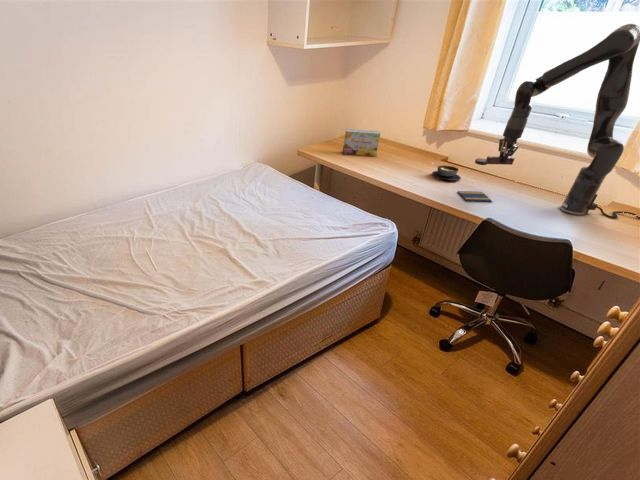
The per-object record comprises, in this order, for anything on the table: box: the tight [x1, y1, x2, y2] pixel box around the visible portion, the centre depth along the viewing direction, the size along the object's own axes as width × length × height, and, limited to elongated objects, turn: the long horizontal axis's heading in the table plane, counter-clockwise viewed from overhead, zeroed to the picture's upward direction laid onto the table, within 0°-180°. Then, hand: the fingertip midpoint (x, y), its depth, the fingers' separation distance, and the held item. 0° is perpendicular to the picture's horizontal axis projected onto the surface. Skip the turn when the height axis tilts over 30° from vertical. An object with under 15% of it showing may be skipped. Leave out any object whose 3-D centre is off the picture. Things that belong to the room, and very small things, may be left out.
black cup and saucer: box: [431, 162, 462, 181], centre depth 211 cm, size 15×16×7 cm
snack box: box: [342, 128, 381, 158], centre depth 243 cm, size 21×6×15 cm, turn 75°
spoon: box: [474, 155, 516, 166], centre depth 188 cm, size 17×6×3 cm, turn 85°
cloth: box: [456, 190, 493, 203], centre depth 190 cm, size 12×11×1 cm
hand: (501, 162), depth 188 cm, fingers closed on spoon, 2 cm apart
